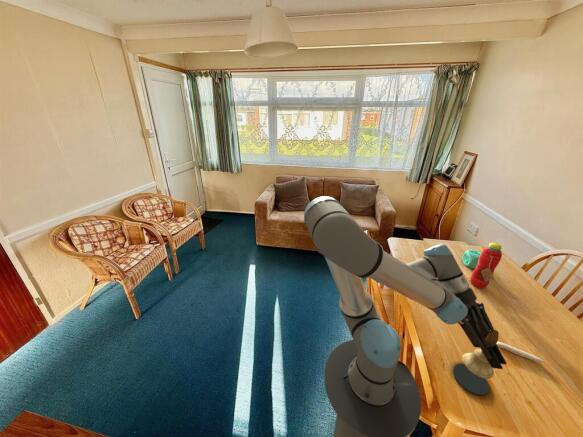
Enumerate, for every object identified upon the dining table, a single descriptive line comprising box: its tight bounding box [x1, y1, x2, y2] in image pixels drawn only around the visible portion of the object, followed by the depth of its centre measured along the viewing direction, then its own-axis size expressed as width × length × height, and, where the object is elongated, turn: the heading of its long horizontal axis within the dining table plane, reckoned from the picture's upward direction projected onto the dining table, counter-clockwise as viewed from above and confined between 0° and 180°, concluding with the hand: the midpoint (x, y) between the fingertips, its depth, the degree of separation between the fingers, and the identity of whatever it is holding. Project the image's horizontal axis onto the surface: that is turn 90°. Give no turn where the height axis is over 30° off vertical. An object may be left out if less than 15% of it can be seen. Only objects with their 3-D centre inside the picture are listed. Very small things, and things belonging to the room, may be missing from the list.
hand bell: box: [461, 329, 500, 380], centre depth 71 cm, size 8×8×16 cm
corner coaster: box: [452, 363, 490, 397], centre depth 78 cm, size 10×10×1 cm
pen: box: [496, 341, 546, 363], centre depth 86 cm, size 2×14×2 cm, turn 55°
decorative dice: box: [461, 249, 482, 270], centre depth 133 cm, size 8×8×8 cm
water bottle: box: [469, 242, 503, 289], centre depth 113 cm, size 12×8×25 cm, turn 142°
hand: (499, 365), depth 69 cm, fingers closed on hand bell, 2 cm apart
